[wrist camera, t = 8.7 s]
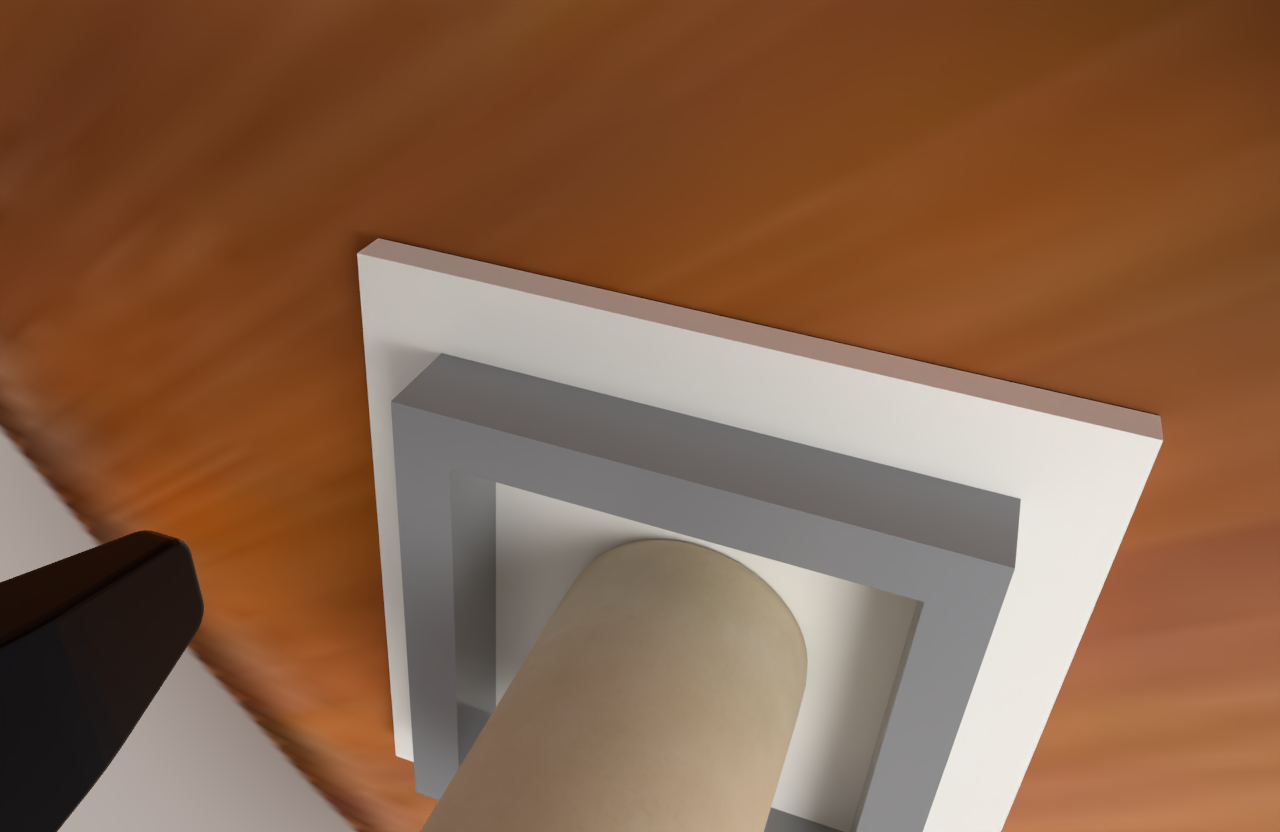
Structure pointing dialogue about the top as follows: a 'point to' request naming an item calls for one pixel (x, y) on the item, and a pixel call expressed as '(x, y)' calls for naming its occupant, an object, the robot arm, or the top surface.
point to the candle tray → (738, 521)
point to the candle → (641, 705)
